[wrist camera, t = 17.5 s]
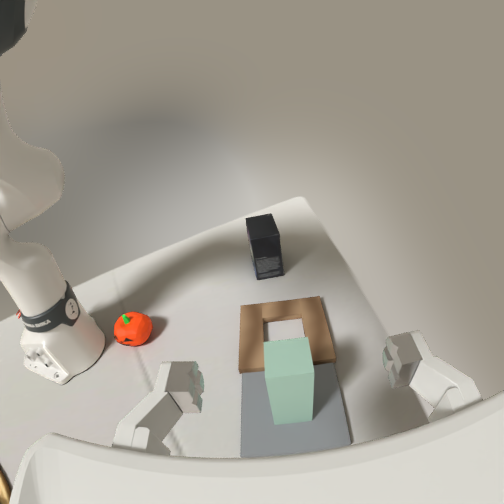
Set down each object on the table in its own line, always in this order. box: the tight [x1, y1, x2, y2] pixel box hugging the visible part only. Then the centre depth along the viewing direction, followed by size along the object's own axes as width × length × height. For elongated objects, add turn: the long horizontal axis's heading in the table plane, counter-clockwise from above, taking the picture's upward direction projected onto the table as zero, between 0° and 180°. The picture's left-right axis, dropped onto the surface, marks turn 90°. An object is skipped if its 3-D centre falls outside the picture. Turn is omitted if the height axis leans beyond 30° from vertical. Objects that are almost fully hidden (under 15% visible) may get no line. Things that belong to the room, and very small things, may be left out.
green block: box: [264, 337, 314, 425], centre depth 33 cm, size 5×5×12 cm
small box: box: [246, 214, 284, 280], centre depth 65 cm, size 11×6×10 cm, turn 6°
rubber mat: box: [241, 362, 351, 458], centre depth 36 cm, size 14×14×1 cm
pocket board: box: [239, 296, 336, 374], centre depth 49 cm, size 15×15×1 cm
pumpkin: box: [114, 312, 153, 346], centre depth 51 cm, size 7×8×6 cm
